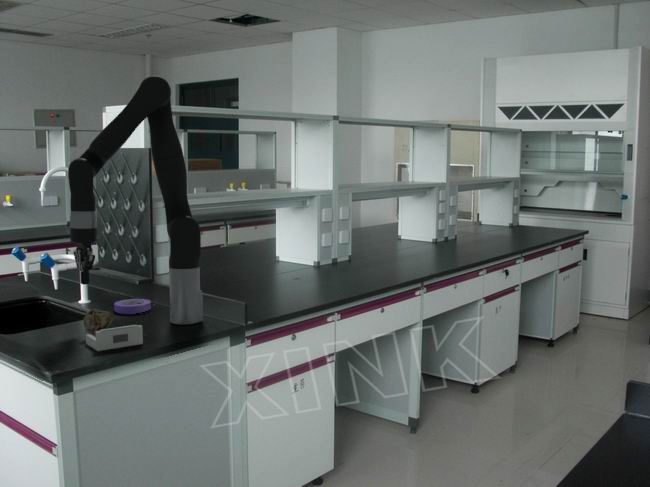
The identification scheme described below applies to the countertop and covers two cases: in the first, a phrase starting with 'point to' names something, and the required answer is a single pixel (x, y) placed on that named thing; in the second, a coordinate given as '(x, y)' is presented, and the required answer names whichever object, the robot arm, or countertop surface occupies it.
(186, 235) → the robot arm
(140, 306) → the masking tape
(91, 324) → the mineral rock
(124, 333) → the dock
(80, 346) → the countertop surface
